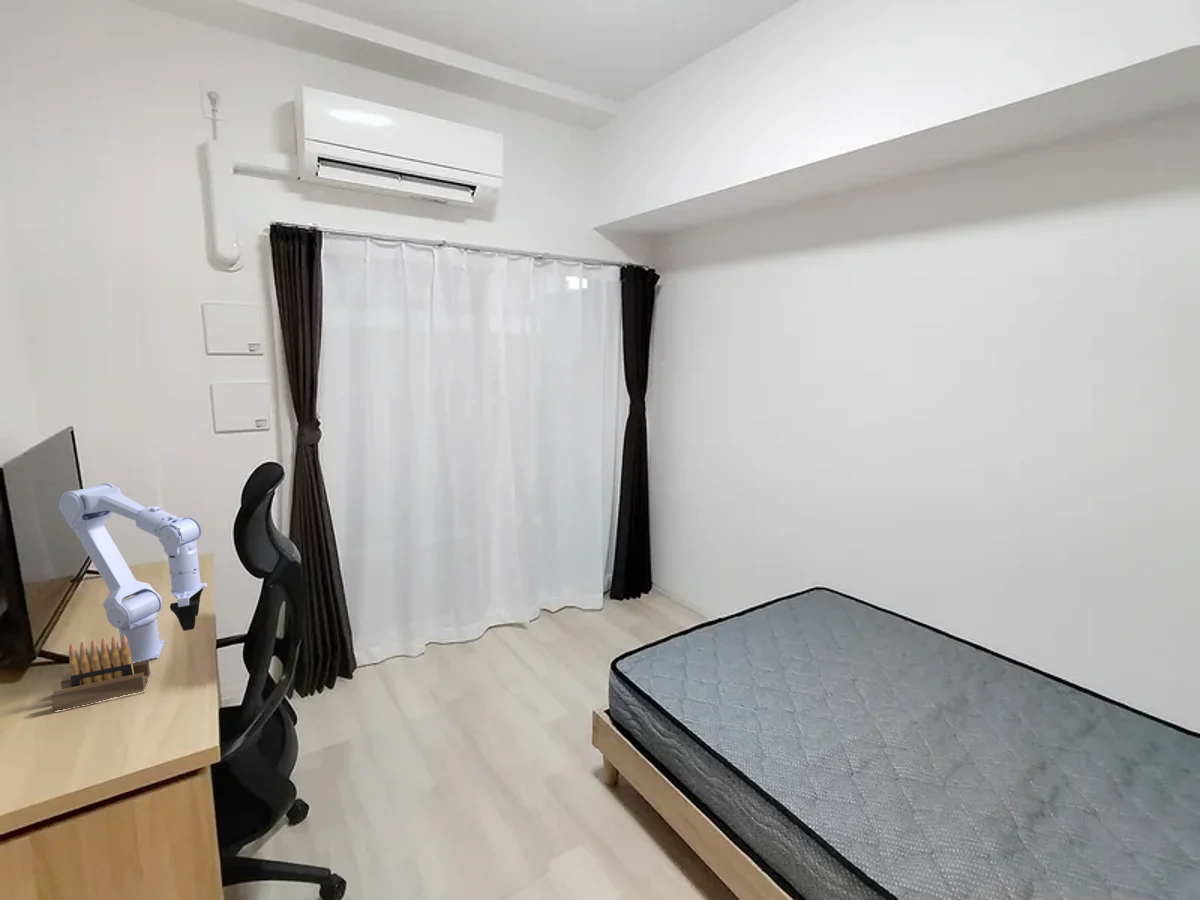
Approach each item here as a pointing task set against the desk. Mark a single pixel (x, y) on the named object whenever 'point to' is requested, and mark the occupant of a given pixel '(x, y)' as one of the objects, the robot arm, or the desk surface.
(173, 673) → the desk surface
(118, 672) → the ammunition clip
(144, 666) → the walnut rack
